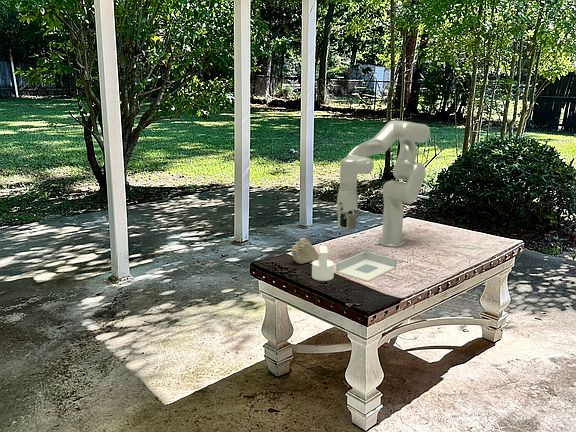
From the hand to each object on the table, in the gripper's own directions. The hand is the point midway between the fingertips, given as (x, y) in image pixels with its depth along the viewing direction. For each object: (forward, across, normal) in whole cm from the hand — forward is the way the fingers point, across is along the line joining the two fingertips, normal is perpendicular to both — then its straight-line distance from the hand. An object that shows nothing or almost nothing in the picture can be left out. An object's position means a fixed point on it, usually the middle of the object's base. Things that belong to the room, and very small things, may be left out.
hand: (346, 225), depth 246 cm
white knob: (+15, +27, +8) cm, 32 cm away
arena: (+15, +8, +17) cm, 24 cm away
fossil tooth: (+15, +18, -10) cm, 25 cm away
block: (+1, 0, 0) cm, 1 cm away
